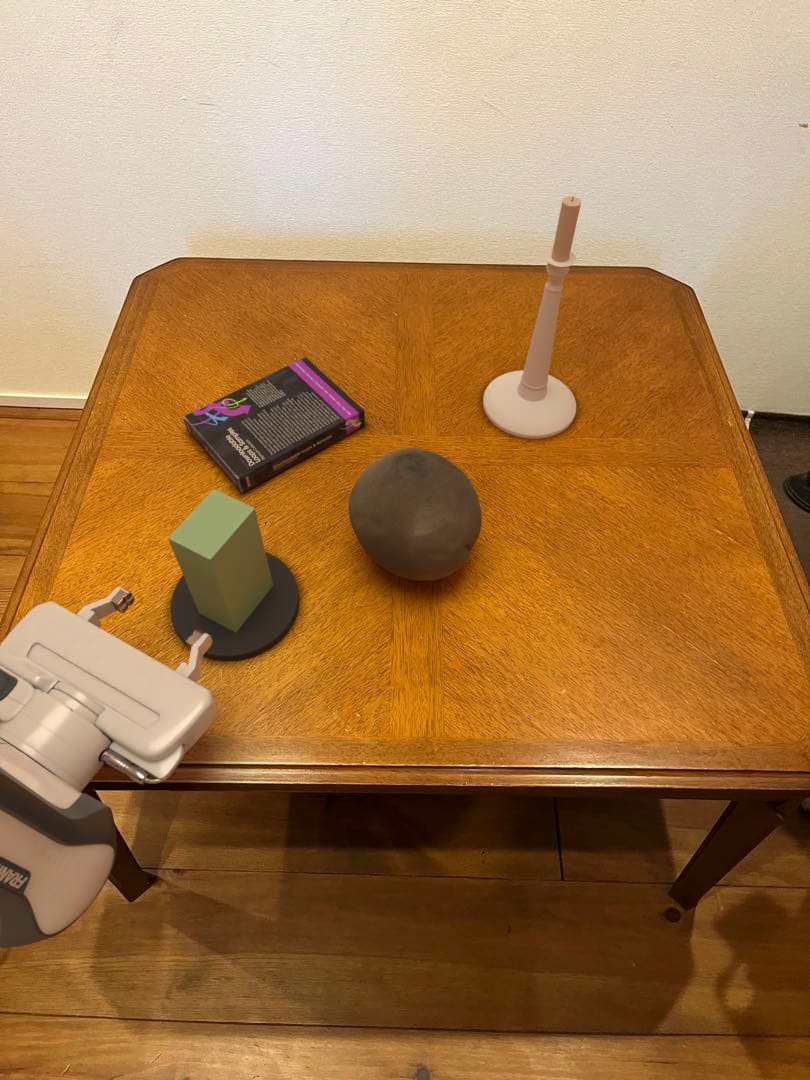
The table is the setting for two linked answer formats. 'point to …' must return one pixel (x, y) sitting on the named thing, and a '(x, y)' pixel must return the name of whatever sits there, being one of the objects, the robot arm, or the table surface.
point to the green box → (223, 559)
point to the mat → (258, 628)
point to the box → (274, 423)
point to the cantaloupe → (415, 514)
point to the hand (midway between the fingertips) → (165, 613)
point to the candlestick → (539, 355)
